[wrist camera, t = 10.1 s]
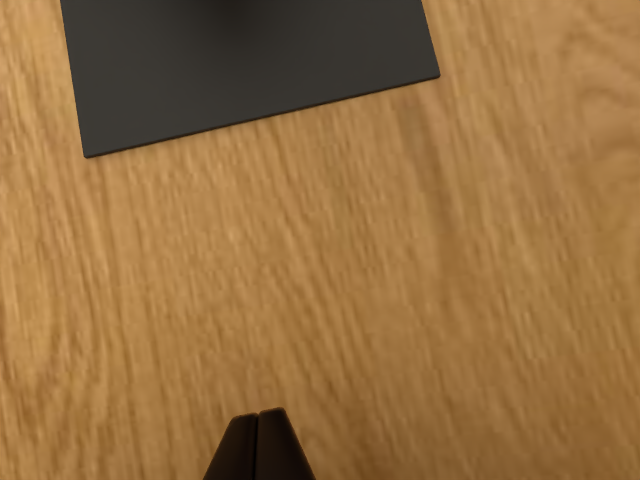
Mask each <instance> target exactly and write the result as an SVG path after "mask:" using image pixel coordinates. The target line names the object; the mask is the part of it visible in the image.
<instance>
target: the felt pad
mask: <svg viewBox="0 0 640 480" xmlns="http://www.w3.org/2000/svg"><path fill="white" fill-rule="evenodd" d="M60 3H61V9H62V16H63V22H64V29H65V36H66V42H67V49H68V55H69V62H70V69H71V75H72V82H73V88H74V95H75V102H76V108H77V115H78V121H79V128H80V134H81V141H82V148H83V154H84V157H85V158H90V157H94V156H99V155H103V154H107V153H112V152H116V151H121V150H125V149H129V148H134V147H138V146H142V145H147V144H151V143H155V142H160V141H164V140H168V139H173V138H177V137H181V136H186V135H190V134H195V133H199V132H203V131H208V130H212V129H216V128H221V127H225V126H229V125H234V124H238V123H242V122H247V121H251V120H255V119H260V118H264V117H268V116H273V115H277V114H282V113H286V112H290V111H295V110H299V109H303V108H308V107H312V106H316V105H321V104H325V103H329V102H334V101H338V100H342V99H347V98H351V97H355V96H360V95H364V94H369V93H373V92H377V91H382V90H386V89H390V88H395V87H399V86H403V85H408V84H412V83H416V82H421V81H425V80H429V79H434V78H438V77H440V71H439V67H438V63H437V59H436V56H435V52H434V48H433V44H432V40H431V37H430V33H429V29H428V25H427V21H426V17H425V14H424V10H423V6H422V2H421V0H60Z"/></svg>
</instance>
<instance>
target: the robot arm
mask: <svg viewBox="0 0 640 480" xmlns="http://www.w3.org/2000/svg"><path fill="white" fill-rule="evenodd" d="M203 480H316V478H315V476H314V474H313V472H312V469H311V467H310V465H309V463H308V461H307V458H306V456H305V454H304V452H303V449H302V447H301V445H300V443H299V440H298V438H297V436H296V434H295V431H294V429H293V427H292V425H291V423H290V420H289V418H288V416H287V414H286V411H285V410H284V408H282V407H277V408H273V409H268V410H263V411H261V412H260V413H259V415H258V414H257V413H249V414H244V415H239V416H236V417H234V418H233V419H232V420H231V421H230V423H229V425H228V427H227V429H226V431H225V433H224V436H223V438H222V440H221V442H220V444H219V446H218V448H217V450H216V452H215V455H214V457H213V459H212V461H211V463H210V465H209V467H208V469H207V472H206V474H205V476H204V478H203Z"/></svg>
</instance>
